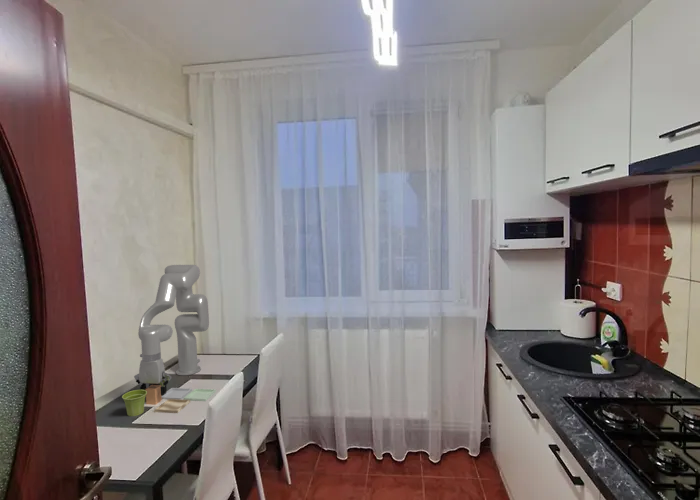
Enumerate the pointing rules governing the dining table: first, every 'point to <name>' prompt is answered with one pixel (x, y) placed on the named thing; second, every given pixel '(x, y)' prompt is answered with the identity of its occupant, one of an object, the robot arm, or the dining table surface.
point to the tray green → (200, 394)
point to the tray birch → (172, 406)
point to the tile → (154, 405)
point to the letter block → (153, 394)
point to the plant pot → (134, 402)
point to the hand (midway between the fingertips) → (153, 394)
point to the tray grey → (176, 393)
